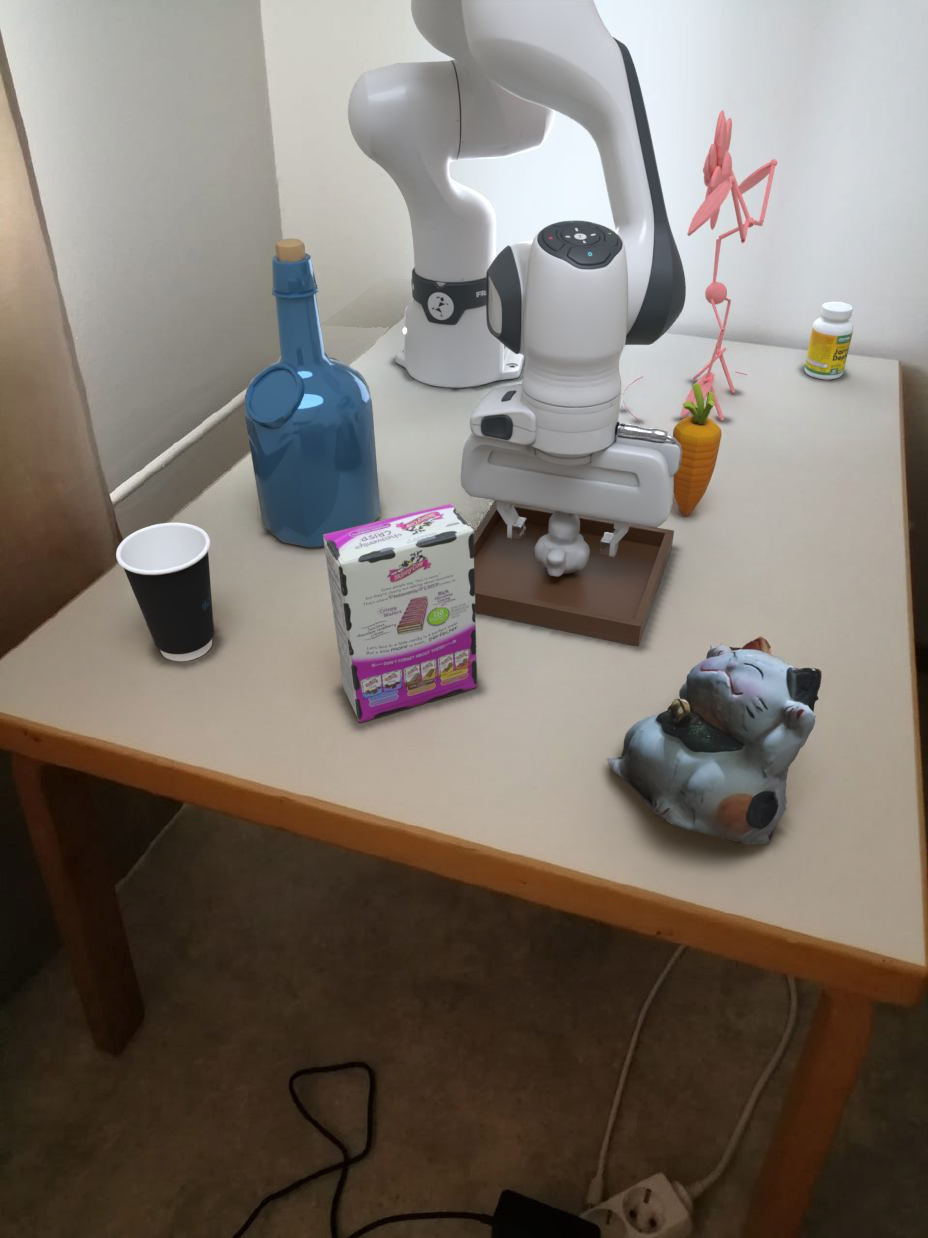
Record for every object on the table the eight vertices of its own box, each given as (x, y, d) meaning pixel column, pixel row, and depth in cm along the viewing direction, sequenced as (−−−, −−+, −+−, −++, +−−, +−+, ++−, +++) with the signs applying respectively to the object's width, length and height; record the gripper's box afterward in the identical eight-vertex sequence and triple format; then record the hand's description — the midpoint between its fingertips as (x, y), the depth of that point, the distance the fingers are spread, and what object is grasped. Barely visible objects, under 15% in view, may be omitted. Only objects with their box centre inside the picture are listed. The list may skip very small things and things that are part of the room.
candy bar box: (456, 656, 89) (452, 500, 79) (478, 689, 85) (478, 530, 75) (339, 689, 85) (320, 530, 75) (357, 725, 82) (340, 563, 72)
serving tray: (495, 518, 108) (495, 499, 106) (671, 549, 103) (674, 530, 101) (439, 605, 95) (439, 585, 94) (638, 646, 90) (640, 626, 88)
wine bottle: (317, 478, 115) (286, 214, 97) (405, 511, 109) (390, 235, 91) (233, 529, 107) (182, 249, 88) (324, 568, 100) (289, 275, 82)
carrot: (707, 529, 106) (729, 400, 97) (661, 524, 106) (678, 396, 97) (708, 505, 110) (728, 380, 100) (663, 501, 110) (679, 376, 101)
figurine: (749, 370, 139) (798, 96, 118) (718, 449, 120) (770, 139, 99) (644, 355, 144) (672, 89, 123) (598, 429, 125) (622, 129, 103)
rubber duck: (594, 559, 100) (599, 491, 95) (578, 594, 95) (583, 525, 90) (543, 550, 102) (546, 482, 97) (525, 584, 97) (527, 515, 92)
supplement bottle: (815, 362, 141) (830, 296, 135) (849, 372, 138) (866, 305, 132) (796, 372, 138) (809, 306, 132) (830, 383, 135) (846, 315, 129)
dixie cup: (127, 644, 91) (98, 545, 84) (201, 608, 95) (180, 512, 88) (170, 684, 86) (144, 583, 80) (246, 645, 90) (227, 546, 84)
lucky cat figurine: (588, 742, 80) (656, 588, 76) (713, 776, 83) (784, 629, 79) (653, 844, 66) (740, 662, 62) (800, 879, 69) (891, 708, 65)
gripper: (690, 417, 88) (672, 546, 96) (476, 387, 93) (476, 512, 102) (678, 448, 83) (660, 581, 91) (453, 415, 88) (455, 543, 97)
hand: (561, 544), depth 96 cm, fingers open, 8 cm apart
